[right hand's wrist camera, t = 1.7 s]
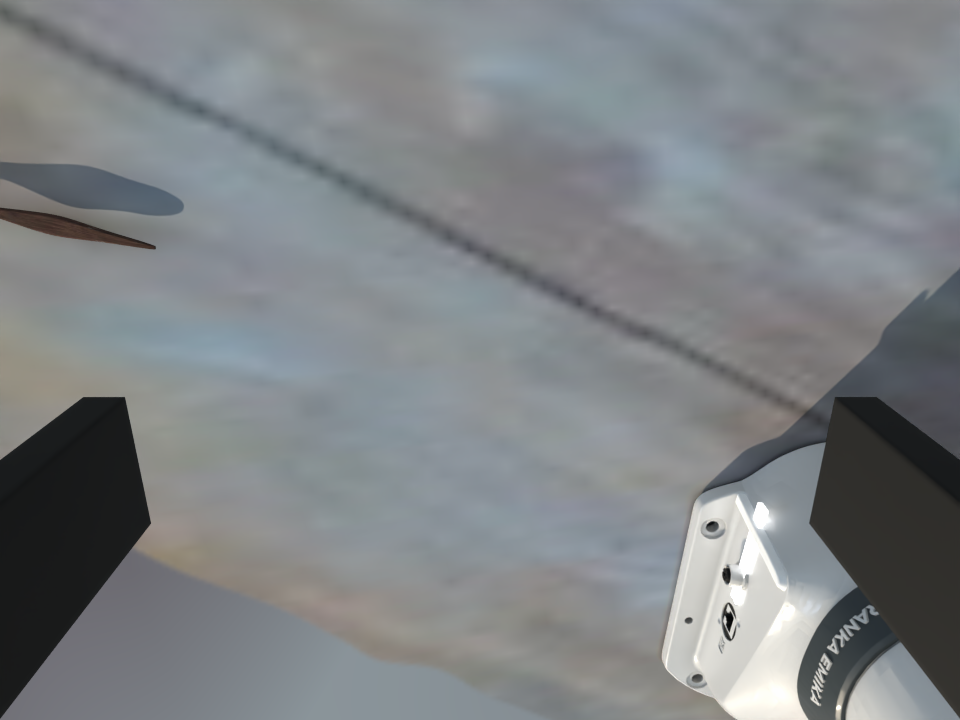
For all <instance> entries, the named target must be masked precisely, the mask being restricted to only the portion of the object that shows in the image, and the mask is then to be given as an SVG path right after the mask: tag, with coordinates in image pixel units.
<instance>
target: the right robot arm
mask: <svg viewBox="0 0 960 720" xmlns="http://www.w3.org/2000/svg"><path fill="white" fill-rule="evenodd" d="M150 524H151V521H150V516H149V511H148V507H147V502H146V497H145V492H144V487H143V482H142V478H141V473H140V468H139V463H138V458H137V453H136V449H135V444H134V439H133V434H132V429H131V424H130V420H129V415H128V410H127V405H126V400H125V397H83V398H82V399H80V400H79V401H78V402H76V403H75V404H74V405H72V406H71V407H70V408H69V409H67V410H66V411H65V412H63V413H62V414H61V415H59V416H58V417H57V418H55V419H54V420H53V421H51V422H50V423H49V424H47V425H46V426H45V427H43V428H42V429H41V430H39V431H38V432H37V433H35V434H34V435H33V436H31V437H30V438H29V439H28V440H26V441H25V442H24V443H22V444H21V445H20V446H18V447H17V448H16V449H14V450H13V451H12V452H10V453H9V454H8V455H6V456H5V457H4V458H2V459H1V460H0V718H1V717H2V716H3V714H4V713H5V712H6V710H7V709H8V708H9V707H10V705H11V704H12V703H13V701H14V700H15V699H16V698H17V696H18V695H19V694H20V692H21V691H22V690H23V688H24V687H25V686H26V685H27V683H28V682H29V681H30V679H31V678H32V677H33V676H34V674H35V673H36V672H37V670H38V669H39V668H40V666H41V665H42V664H43V663H44V661H45V660H46V659H47V657H48V656H49V655H50V653H51V652H52V651H53V650H54V648H55V647H56V646H57V644H58V643H59V642H60V641H61V639H62V638H63V637H64V635H65V634H66V633H67V631H68V630H69V629H70V628H71V626H72V625H73V624H74V622H75V621H76V620H77V619H78V617H79V616H80V615H81V613H82V612H83V611H84V609H85V608H86V607H87V605H88V604H89V603H90V602H91V600H92V599H93V598H94V597H95V595H96V594H97V593H98V591H99V590H100V589H101V587H102V586H103V585H104V583H105V582H106V581H107V580H108V578H109V577H110V576H111V574H112V573H113V572H114V571H115V569H116V568H117V567H118V565H119V564H120V563H121V562H122V560H123V559H124V558H125V556H126V555H127V554H128V553H129V551H130V550H131V549H132V547H133V546H134V545H135V543H136V542H137V541H138V540H139V538H140V537H141V536H142V534H143V533H144V532H145V530H146V529H147V528H148V527H149V525H150ZM809 524H810V525H811V527H812V528H813V529H814V530H815V532H816V533H817V534H818V536H819V537H820V538H821V540H822V541H823V542H824V543H825V545H826V546H827V547H828V549H829V550H830V551H831V553H832V554H833V555H834V556H835V558H836V559H837V560H838V562H839V563H840V564H841V565H842V567H843V568H844V569H845V571H846V572H847V573H848V575H849V576H850V577H851V578H852V580H853V581H854V582H855V584H856V585H857V586H858V587H859V589H860V590H861V591H862V593H863V594H864V595H865V597H866V598H867V599H868V600H869V602H870V603H871V604H872V606H873V607H874V608H875V609H876V611H877V612H878V613H879V615H880V616H881V617H882V619H883V620H884V621H885V622H886V624H887V625H888V626H889V628H890V629H891V630H892V631H893V633H894V634H895V635H896V637H897V638H898V639H899V641H900V642H901V643H902V644H903V646H904V647H905V648H906V650H907V651H908V652H909V653H910V655H911V656H912V657H913V659H914V660H915V661H916V663H917V664H918V665H919V666H920V668H921V669H922V670H923V672H924V673H925V674H926V676H927V677H928V678H929V679H930V681H931V682H932V683H933V685H934V686H935V687H936V688H937V690H938V691H939V692H940V694H941V695H942V696H943V698H944V699H945V700H946V701H947V703H948V704H949V705H950V707H951V708H952V709H953V710H954V712H955V713H956V714H957V716H958V717H959V718H960V460H959V459H958V458H956V457H955V456H954V455H952V454H951V453H950V452H948V451H947V450H946V449H944V448H943V447H942V446H940V445H939V444H938V443H936V442H935V441H934V440H932V439H931V438H930V437H929V436H927V435H926V434H925V433H923V432H922V431H921V430H919V429H918V428H917V427H915V426H914V425H913V424H911V423H910V422H909V421H907V420H906V419H905V418H903V417H902V416H901V415H899V414H898V413H897V412H895V411H894V410H893V409H891V408H890V407H889V406H888V405H886V404H885V403H884V402H882V401H881V400H880V399H878V398H877V397H835V400H834V405H833V410H832V415H831V420H830V424H829V429H828V434H827V439H826V444H825V449H824V453H823V458H822V463H821V468H820V473H819V478H818V482H817V487H816V492H815V497H814V502H813V507H812V511H811V516H810V521H809Z"/></svg>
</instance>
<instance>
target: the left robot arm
mask: <svg viewBox="0 0 960 720" xmlns="http://www.w3.org/2000/svg"><path fill="white" fill-rule="evenodd" d="M825 444H826V442H824V443H819V444H814V445H810V446H807V447H803V448H800V449H797V450H795V451H792V452H790V453H788V454H785V455H783V456H781V457H779V458H777V459H776V460H774V461H772V462H770V463H769V464H767V465H766V466H764V467H763V468H761V469H760V470H758V471H757V472H755V473H754V474H752V475H751V476H749V477H747V478H745V479H743V480H741V481H739V482H734V483H731V484H727V485H723V486H720V487H716V488H713V489H711V490H708V491H706V492H704V493H703V494H701V495H700V496H699V497H698V498H697V499H696V501H695V504H694V507H693V511H692V516H691V520H690V525H689V530H688V534H687V539H686V544H685V548H684V553H683V557H682V562H681V567H680V571H679V576H678V580H677V585H676V590H675V594H674V599H673V603H672V608H671V613H670V617H669V622H668V627H667V631H666V636H665V640H664V645H663V650H662V661H663V663H664V665H665V667H666V669H667V670H668V671H669V672H670V673H671V674H672V675H673V676H674V677H675V678H676V679H677V680H679V681H680V682H681V683H683V684H684V685H686V686H688V687H690V688H691V689H693V690H695V691H697V692H700V693H702V694H704V695H707V696H710V697H713V698H715V699H716V700H717V702H718V703H719V704H720V705H721V706H722V708H723V709H724V710H725V711H726V712H727V713H729V714H730V715H731V716H732V717H734V718H735V719H736V720H960V718H959V717H958V716H957V714H956V713H955V712H954V710H953V709H952V708H951V707H950V705H949V704H948V703H947V701H946V700H945V699H944V698H943V696H942V695H941V694H940V692H939V691H938V690H937V688H936V687H935V686H934V685H933V683H932V682H931V681H930V679H929V678H928V677H927V676H926V674H925V673H924V672H923V670H922V669H921V668H920V666H919V665H918V664H917V663H916V661H915V660H914V659H913V657H912V656H911V655H910V653H909V652H908V651H907V650H906V648H905V647H904V646H903V644H902V643H901V642H900V641H899V639H898V638H897V637H896V635H895V634H894V633H893V631H892V630H891V629H890V628H889V626H888V625H887V624H886V622H885V621H884V620H883V619H882V617H881V616H880V615H879V613H878V612H877V611H876V609H875V608H874V607H873V606H872V604H871V603H870V602H869V600H868V599H867V598H866V597H865V595H864V594H863V593H862V591H861V590H860V589H859V587H858V586H857V585H856V584H855V582H854V581H853V580H852V578H851V577H850V576H849V575H848V573H847V572H846V571H845V569H844V568H843V567H842V565H841V564H840V563H839V562H838V560H837V559H836V558H835V556H834V555H833V554H832V553H831V551H830V550H829V549H828V547H827V546H826V545H825V543H824V542H823V541H822V540H821V538H820V537H819V536H818V534H817V533H816V532H815V530H814V529H813V528H812V527H811V525H810V524H809V521H810V516H811V511H812V507H813V502H814V497H815V492H816V487H817V482H818V478H819V473H820V468H821V463H822V458H823V453H824V449H825ZM711 521H715V523H714V524H713V525H710V526H706V525H707V524H708V523H709V522H711ZM695 674H697V675H695Z"/></svg>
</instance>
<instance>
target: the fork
mask: <svg viewBox="0 0 960 720" xmlns="http://www.w3.org/2000/svg"><path fill="white" fill-rule="evenodd" d="M0 219H3V220H6V221H9V222H12V223H15V224H18V225H21V226H23V227H27V228H30V229H33V230H36V231H39V232H43V233H46V234H50V235H54V236H60V237H66V238H73V239H81V240H90V241H98V242H105V243H112V244H119V245H126V246H132V247H139V248H147V249H156V246H154V245H151V244H148V243H145V242H142V241H139V240H135V239H132V238H129V237H125V236H122V235H119V234H115V233H112V232H109V231H105V230H102V229H99V228H96V227H93V226H90V225H87V224H84V223H81V222H78V221H75V220H72V219H69V218H65V217H61V216H57V215H52V214H47V213H40V212H32V211H24V210H15V209H7V208H0Z"/></svg>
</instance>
